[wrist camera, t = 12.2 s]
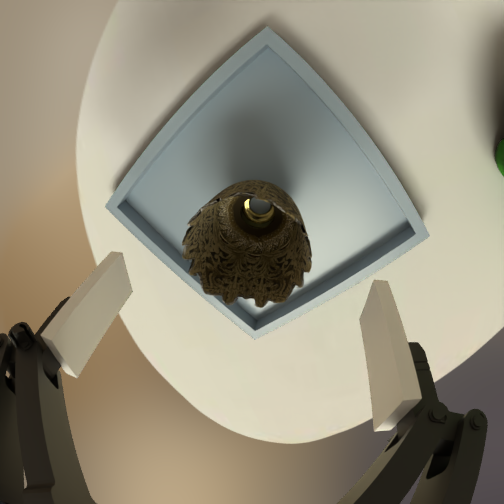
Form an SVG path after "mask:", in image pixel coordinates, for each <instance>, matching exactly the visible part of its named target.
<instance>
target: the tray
mask: <svg viewBox="0 0 504 504" xmlns="http://www.w3.org/2000/svg"><path fill="white" fill-rule="evenodd" d="M246 180H262V181H266V182H270V183H272V184H274V185H276V186H278V187H280V188H281V189H283V190H284V191H285V192H286V193H287V194H288V195H289V196H290V197H291V198H292V199H293V201H294V202H295V204H296V205H297V207H298V209H299V211H300V213H301V216H302V219H303V221H304V225H305V228H306V231H307V234H308V238H309V240H310V245H311V251H312V258H311V261H312V267H311V270H310V272H309V273H307V272H306V273H305V272H304V285H303V287H302V288H295V287H298V286H295V287H294V289H293V291H292V293H291V295H290V296H289V298H288V299H287V300H286V301H285V302H282V303H273V302H271V301H268V303H267V304H266V305H265V306H264V307H263V308H259V307H256V306H255V305H254V304H255V300H254V299H251V298H249V299H248V300H245V299H244V298H242V297H237V298H238V299H237V298H236V299H237V301H236V302H235V301H234V302H235V303H233V304H232V305H226V304H225V303H224V302H223V301H222V296H211V295H207V294H205V293H204V292H203V290H202V288H201V285H200V278H199V276H198V274H197V276H193V275H192V276H191V275H190V274H189V273H188V271H189V268H190V265H191V262H192V260H185V259H183V258H182V254H183V248H184V247H185V246H182V241H183V238H184V236H185V234H186V231H187V229H188V228H189V227H190V226H188V225H187V224H188V222H189V221H190V219H191V218H192V217H193V216H194V215H195V214H196V213H197V212H198V211H199V209H200V208H201V207H203V206H204V205H205V204H206V203H208V202H209V201H210V200H211V199H212V198H213V197H215V196H216V195H217V194H218V193H219V192H221V191H222V190H224V189H225V188H227V187H229V186H230V185H232V184H235V183H238V182H241V181H246ZM105 207H106V208H107V209H108V210H109V211H110V212H111V213H112V214H113V215H114V216H115V217H116V218H117V219H118V220H119V221H120V222H121V223H122V224H123V225H124V226H125V227H126V228H127V229H128V230H129V231H130V232H131V233H132V234H133V235H134V236H135V237H136V238H137V239H138V240H139V241H140V242H141V243H143V244H144V245H145V246H146V247H147V248H148V249H149V250H150V251H151V252H152V253H153V254H154V255H155V256H156V257H158V258H159V259H160V260H161V261H162V262H163V263H164V264H165V265H166V266H167V267H169V268H170V269H171V270H172V271H173V272H174V273H175V274H176V275H178V276H179V277H180V278H181V279H182V280H183V281H184V282H185V283H187V284H188V285H189V286H190V287H191V288H192V289H194V290H195V291H196V292H197V293H198V294H199V295H201V296H202V297H203V298H204V299H205V300H206V301H208V302H209V303H210V304H211V305H212V306H214V307H215V308H216V309H217V310H218V311H220V312H221V313H222V314H223V315H224V316H226V317H227V318H228V319H229V320H231V321H232V322H233V323H234V324H235V325H237V326H238V327H239V328H240V329H242V330H243V331H244V332H245V333H247V334H248V335H249V336H251V337H252V338H253V339H254V340H255V339H257V338H259V337H261V336H263V335H265V334H267V333H269V332H271V331H273V330H275V329H277V328H279V327H281V326H283V325H285V324H287V323H289V322H290V321H292V320H294V319H296V318H298V317H300V316H302V315H303V314H305V313H307V312H309V311H311V310H313V309H314V308H316V307H318V306H320V305H322V304H323V303H325V302H327V301H329V300H330V299H332V298H334V297H336V296H337V295H339V294H341V293H342V292H344V291H346V290H347V289H349V288H351V287H352V286H354V285H356V284H357V283H359V282H361V281H362V280H364V279H366V278H367V277H369V276H370V275H372V274H374V273H375V272H377V271H378V270H380V269H382V268H383V267H385V266H386V265H388V264H389V263H391V262H392V261H394V260H396V259H397V258H399V257H400V256H402V255H403V254H405V253H406V252H408V251H409V250H411V249H412V248H413V247H415V246H416V245H418V244H419V243H421V242H422V241H424V240H425V239H427V238H428V237H429V236H430V235H429V233H428V231H427V229H426V227H425V225H424V223H423V221H422V220H421V218H420V216H419V214H418V212H417V210H416V209H415V207H414V205H413V203H412V201H411V200H410V198H409V196H408V195H407V193H406V191H405V190H404V188H403V186H402V185H401V183H400V181H399V180H398V178H397V177H396V175H395V173H394V172H393V170H392V169H391V167H390V166H389V164H388V163H387V161H386V160H385V158H384V157H383V155H382V154H381V152H380V151H379V149H378V148H377V147H376V145H375V144H374V142H373V141H372V140H371V138H370V137H369V135H368V134H367V133H366V131H365V130H364V129H363V127H362V126H361V125H360V123H359V122H358V121H357V120H356V118H355V117H354V116H353V115H352V113H351V112H350V111H349V110H348V108H347V107H346V106H345V105H344V103H343V102H342V101H341V100H340V99H339V97H338V96H337V95H336V94H335V93H334V92H333V91H332V89H331V88H330V87H329V86H328V85H327V84H326V83H325V82H324V80H323V79H322V78H321V77H320V76H319V75H318V74H317V73H316V72H315V71H314V70H313V69H312V68H311V67H310V66H309V65H308V64H307V62H306V61H305V60H304V59H303V58H302V57H301V56H300V55H299V54H297V53H296V52H295V51H294V50H293V49H292V48H291V47H290V46H289V45H288V44H287V43H286V42H285V41H284V40H283V39H282V38H280V37H279V36H278V35H277V34H276V33H275V32H274V31H273V30H271V29H270V28H269V27H268V26H267V27H266V28H264V29H263V30H262V31H261V32H259V33H258V34H257V35H256V36H254V37H253V38H252V39H251V40H250V41H248V42H247V43H246V44H245V45H244V46H243V47H241V48H240V49H239V50H238V51H237V52H236V53H235V54H233V55H232V56H231V57H230V58H229V59H228V60H227V61H226V62H225V63H224V64H223V65H221V66H220V67H219V68H218V69H217V70H216V71H215V72H214V73H213V74H212V75H211V76H210V77H209V78H208V79H207V80H206V81H205V82H204V83H203V84H202V85H201V86H200V87H199V88H198V89H197V90H196V91H195V92H194V93H193V94H192V95H191V97H190V98H189V99H188V100H187V101H186V102H185V103H184V104H183V105H182V106H181V107H180V108H179V110H178V111H177V112H176V113H175V114H174V115H173V116H172V118H171V119H170V120H169V121H168V122H167V123H166V125H165V126H164V127H163V128H162V129H161V130H160V132H159V133H158V134H157V135H156V137H155V138H154V139H153V140H152V142H151V143H150V144H149V145H148V147H147V148H146V149H145V150H144V152H143V153H142V154H141V156H140V157H139V158H138V160H137V161H136V162H135V164H134V165H133V166H132V168H131V169H130V170H129V172H128V173H127V175H126V176H125V177H124V179H123V180H122V182H121V183H120V185H119V186H118V187H117V189H116V190H115V192H114V193H113V195H112V196H111V198H110V199H109V201H108V203H107V204H106V206H105ZM250 207H251V209H252V211H253V212H255V213H257V214H264V213H266V212H268V210H269V209H270V203H268V202H266V201H263V200H258V199H255V197H254V198H252V199H251V201H250ZM236 299H235V300H236Z"/></svg>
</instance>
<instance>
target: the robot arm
mask: <svg viewBox="0 0 504 504" xmlns="http://www.w3.org/2000/svg"><path fill="white" fill-rule="evenodd" d="M132 292H133V291H132V287H131V284H130V280H129V277H128V273H127V269H126V265H125V261H124V257H123V253H121V252H113V251H111V252H110V253H109V255H108V256H107V257H106V258H105V259H104V260H103V261H102V262H101V263H100V264H99V265H98V266H97V267H96V269H95V270H94V271H93V272H92V273H91V274H90V275H89V277H88V278H87V279H86V280H85V281H84V282H83V283H82V284H81V286H80V287H79V288H78V289H77V290H76V291H75V292H74V294H73V295H72V296H71V297H67V298H66V299H64V300H63V301H61V302H60V304H59V305H58V306H57V307H56V308H55V310H54V311H53V312H52V313H51V316H49V317H48V318H47V320H46V321H45V322H44V323H43V325H42V326H41V327H40V328H39V330H38V331H37V333H36V334H35V335H34V333H33V332H32V330H31V328H30V327H29V325H28V324H27V323H25V322H21V323H17V324H16V325H14V326H13V327H12V328H11V330H10V331H9V334H8V336H9V338H10V339H11V341H10V339H9V338H8V336H7V335H6V334H4V333H2V334H0V504H96V503H95V502H94V500H93V499H92V498H91V496H90V493H89V491H88V488H87V485H86V482H85V479H84V476H83V473H82V470H81V467H80V464H79V461H78V457H77V454H76V450H75V447H74V443H73V439H72V435H71V430H70V426H69V421H68V416H67V412H66V406H65V400H64V394H63V387H62V379H61V374H60V371H59V368H60V367H61V366H62V368H63V369H64V371H65V372H66V373H67V374H69V375H71V376H74V377H76V378H78V376H79V375H80V373H81V371H82V369H83V368H84V366H85V364H86V363H87V361H88V359H89V357H90V356H91V355H92V353H93V351H94V350H95V348H96V347H97V345H98V343H99V342H100V340H101V338H102V337H103V335H104V334H105V332H106V331H107V329H108V328H109V326H110V325H111V323H112V321H113V320H114V318H115V317H116V315H117V314H118V312H119V311H120V310H121V308H122V307H123V305H124V304H125V302H126V301H127V299H128V298H129V296H130V295H131V293H132ZM359 320H360V325H361V331H362V337H363V343H364V349H365V356H366V362H367V369H368V377H369V385H370V393H371V403H372V413H373V424H374V431H385V430H391V429H392V428H393V427H394V426H395V425H396V424H397V433H395V434H394V435H393V436H392V437H391V438H390V439H389V440H388V442H389V444H388V445H387V446H386V447H385V449H384V450H383V451H382V453H381V454H380V455H379V457H378V458H377V459H376V460H375V462H374V463H373V464H372V465H371V466H370V468H369V469H368V470H367V471H366V472H365V474H364V475H363V476H362V477H361V478H360V479H359V481H358V482H357V483H356V484H355V485H354V486H353V487H352V488H351V489H350V490H349V492H348V493H347V494H346V495H345V496H344V497H343V498H342V499H341V500H340V501H339V502H338V503H337V504H400V502H401V501H402V500H403V498H404V497H405V495H406V494H407V493H408V491H409V490H410V489H411V487H412V485H413V484H414V483H415V481H416V480H417V478H418V477H419V475H420V473H421V472H422V470H423V469H424V470H423V473H422V476H421V478H420V481H419V483H418V486H417V488H416V491H415V493H414V495H413V498H412V500H411V502H410V504H470V503H471V500H472V496H473V493H474V490H475V486H476V482H477V479H478V475H479V470H480V466H481V461H482V456H483V451H484V446H485V440H486V433H487V426H488V425H487V418H486V416H485V414H484V413H483V412H482V411H480V410H479V409H472V410H470V411H469V412H468V413H467V414H466V415H464V414H458V413H453V412H450V411H448V409H447V407H446V406H445V405H444V404H443V403H441V402H439V400H438V397H437V393H436V389H435V385H434V382H433V378H432V374H431V371H430V367H429V364H428V363H427V361H428V360H427V357H426V354H425V351H424V350H423V348H422V347H421V346H420V344H419V343H418V342H408V341H407V338H406V334H405V331H404V328H403V324H402V321H401V318H400V315H399V312H398V309H397V306H396V303H395V300H394V297H393V295H392V292H391V289H390V286H389V284H388V281H383V280H373V283H372V286H371V289H370V292H369V295H368V298H367V301H366V303H365V306H364V309H363V311H362V314H361V317H360V319H359ZM6 371H8V372H9V374H10V376H9V378H8V377H7V376H6ZM23 466H24V469H23ZM24 471H25V476H26V480H27V487H26V488H25V489H24Z"/></svg>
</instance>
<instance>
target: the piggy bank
mask: <svg viewBox="0 0 504 504" xmlns="http://www.w3.org/2000/svg"><path fill="white" fill-rule="evenodd" d="M495 161H496V163H497V166H498V168H499V170H500V172H501V174H502V175H503V176H504V139H502V140H501V142H499V144H498V146H497V149H496V153H495Z"/></svg>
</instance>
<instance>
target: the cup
mask: <svg viewBox="0 0 504 504" xmlns="http://www.w3.org/2000/svg"><path fill="white" fill-rule="evenodd" d="M254 197H255V199H258V200H263V201H266V202H268V203H270V209H269V210H268V212H266V213H264V214H257V213H255V212H253V211H252V209H251V207H250V201H251V199H252V198H254ZM187 225H188V226H190V227H189V228H188V229H187V231H186V234H185V236H184V238H183V241H182V246H185V247H184V248H183V254H182V258H183V259H185V260H192V262H191V265H190V268H189V271H188V273H189V274H190V275H191V276H192V275H193V276H197V274H198V276H199V278H200V285H201V288H202V290H203V292H204V293H205V294H207V295H211V296H222V301H223V302H224V303H225V304H226V305H232V304H233V303H235V302H236V301H237V299H238V298H237V297H242V298H244V299H245V300H248V299H249V298H251V299H254V300H255V304H254V305H255V306H256V307H259V308H263V307H264V306H265V305H266V304H267V303H268V301H271V302H273V303H282V302H285V301H286V300H287V299H288V298H289V296H290V295H291V293H292V291H293V289H294V287H295V286H298V287H295V288H302V287H303V285H304V272H305V273H306V272H307V273H309V272H310V270H311V267H312V261H311V258H312V251H311V245H310V240H309V238H308V234H307V231H306V228H305V225H304V221H303V219H302V216H301V213H300V211H299V209H298V207H297V205H296V204H295V202H294V201H293V199H292V198H291V197H290V196H289V195H288V194H287V193H286V192H285V191H284V190H283V189H281V188H280V187H278V186H276V185H274V184H272V183H270V182H266V181H262V180H246V181H241V182H238V183H235V184H232V185H230V186H229V187H227V188H225V189H224V190H222V191H221V192H219V193H218V194H217V195H216V196H215V197H213V198H212V199H211V200H210V201H209V202H208V203H206V204H205V205H204V206H203V207H201V208H200V209H199V211H198V212H197V213H196V214H195V215H194V216H193V217H192V218H191V219H190V221H189V222H188V224H187ZM236 298H237V299H236ZM235 299H236V300H235ZM234 301H235V302H234Z"/></svg>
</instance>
